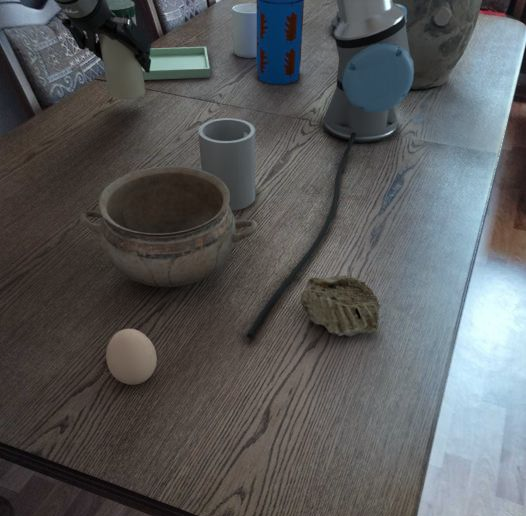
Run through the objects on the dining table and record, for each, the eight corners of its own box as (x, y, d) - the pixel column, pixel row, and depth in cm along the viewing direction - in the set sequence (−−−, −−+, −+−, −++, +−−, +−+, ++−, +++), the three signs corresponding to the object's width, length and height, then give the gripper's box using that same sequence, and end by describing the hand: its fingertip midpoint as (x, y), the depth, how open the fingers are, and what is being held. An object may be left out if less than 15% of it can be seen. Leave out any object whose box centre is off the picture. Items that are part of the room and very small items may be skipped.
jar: (145, 98, 119) (133, 12, 107) (107, 100, 118) (91, 13, 106) (146, 84, 124) (134, 0, 113) (110, 86, 124) (94, 1, 112)
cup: (195, 204, 95) (189, 137, 87) (216, 180, 101) (212, 114, 93) (243, 214, 93) (242, 147, 85) (262, 189, 99) (262, 123, 90)
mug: (266, 44, 154) (267, 0, 146) (264, 59, 146) (264, 13, 138) (236, 43, 154) (235, -1, 147) (231, 58, 146) (230, 12, 138)
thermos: (300, 69, 141) (307, -50, 123) (298, 85, 133) (305, -39, 115) (258, 67, 141) (259, -51, 123) (254, 83, 134) (253, -41, 116)
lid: (135, 19, 108) (133, 9, 107) (91, 21, 107) (89, 10, 106) (136, 7, 114) (135, -3, 112) (95, 8, 113) (93, -2, 112)
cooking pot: (72, 305, 77) (48, 231, 68) (111, 229, 90) (95, 158, 81) (250, 318, 75) (249, 244, 66) (263, 239, 88) (264, 168, 80)
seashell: (367, 360, 74) (390, 296, 77) (374, 343, 67) (398, 273, 70) (289, 333, 76) (314, 272, 79) (288, 313, 69) (315, 247, 72)
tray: (210, 77, 136) (209, 68, 135) (144, 80, 135) (143, 71, 133) (206, 55, 148) (206, 46, 146) (145, 57, 146) (144, 48, 145)
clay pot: (381, 58, 147) (402, -83, 125) (468, 72, 140) (506, -75, 119) (354, 87, 133) (373, -67, 111) (449, 104, 126) (489, -56, 104)
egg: (131, 354, 70) (121, 310, 65) (169, 370, 68) (161, 326, 63) (102, 385, 67) (89, 340, 61) (141, 402, 65) (130, 358, 59)
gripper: (23, 15, 99) (83, 77, 122) (132, 24, 96) (172, 86, 119) (29, -26, 99) (88, 43, 122) (138, -19, 96) (177, 51, 119)
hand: (129, 64), depth 120 cm, fingers closed on jar, 8 cm apart
